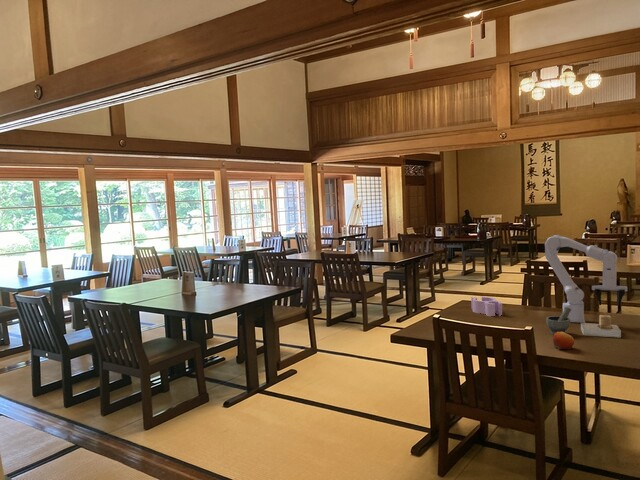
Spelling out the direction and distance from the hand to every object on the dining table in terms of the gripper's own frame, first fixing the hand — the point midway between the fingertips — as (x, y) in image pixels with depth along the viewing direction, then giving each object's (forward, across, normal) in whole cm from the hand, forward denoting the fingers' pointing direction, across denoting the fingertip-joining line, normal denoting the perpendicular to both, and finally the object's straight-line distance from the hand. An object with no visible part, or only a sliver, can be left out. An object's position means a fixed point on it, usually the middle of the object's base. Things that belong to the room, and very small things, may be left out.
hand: (609, 305), depth 236 cm
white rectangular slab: (+9, -6, -17) cm, 20 cm away
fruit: (+10, -23, -44) cm, 51 cm away
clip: (+10, -56, +13) cm, 59 cm away
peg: (+9, -4, -17) cm, 20 cm away
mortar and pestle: (+10, -23, -21) cm, 33 cm away
